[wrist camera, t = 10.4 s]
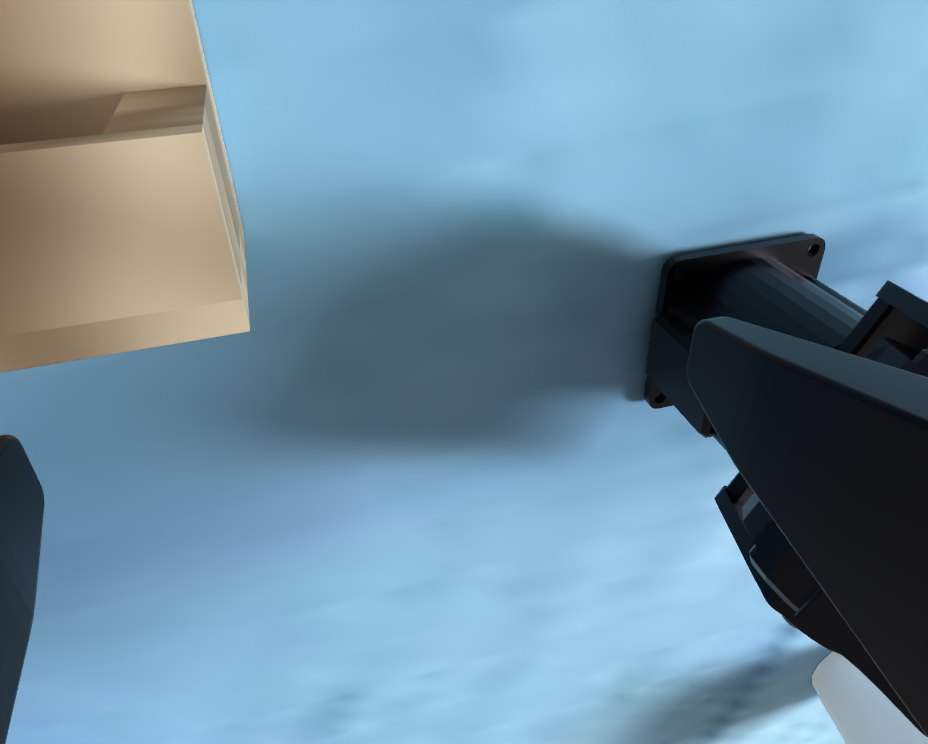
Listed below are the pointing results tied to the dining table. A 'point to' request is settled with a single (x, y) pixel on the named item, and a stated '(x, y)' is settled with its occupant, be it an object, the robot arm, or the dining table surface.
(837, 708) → the foam cup
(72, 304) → the bracket
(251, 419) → the dining table surface
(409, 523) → the dining table surface
